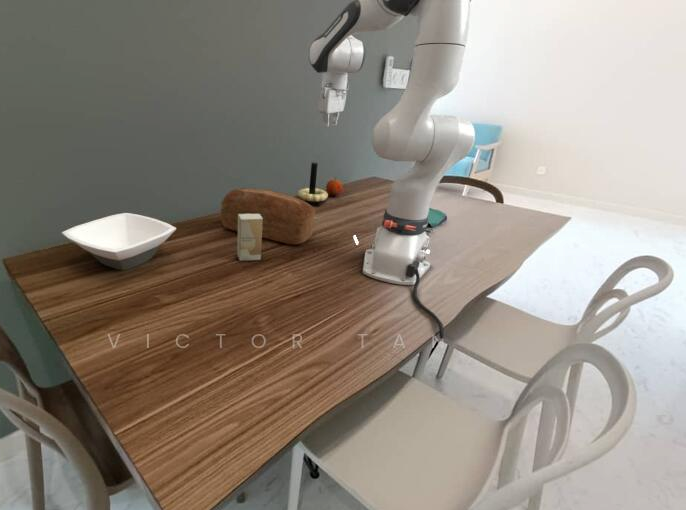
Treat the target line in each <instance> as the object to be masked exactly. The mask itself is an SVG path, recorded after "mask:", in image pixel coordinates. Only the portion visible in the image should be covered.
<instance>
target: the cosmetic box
mask: <svg viewBox="0 0 686 510" xmlns="http://www.w3.org/2000/svg"><path fill="white" fill-rule="evenodd" d="M262 223H263V218H262V216H261V215H260V214H238V231H237V245H236V246H237V247H236V249H237V253H236V255H237V258H238V260H239V262H242V261H261V260H262V242H263V238H262Z"/></svg>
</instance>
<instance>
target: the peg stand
mask: <svg viewBox="0 0 686 510" xmlns="http://www.w3.org/2000/svg"><path fill="white" fill-rule="evenodd" d="M310 165H311V166H310V178H309V187H308V188H309V194H315V188H317V187H316V185H317V174H318V162H316V161H312V162H311V163H310ZM297 198H298V197H297ZM298 199H301V198H298ZM301 200H303V199H301ZM303 201H305V202H307V203H308V204H310V205H311V206H312V207H317V208H318V207H320V206H321V205H322V204H324V202H326V199H325V200H324V201H319V202H311V201H306V200H303Z"/></svg>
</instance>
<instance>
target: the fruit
mask: <svg viewBox="0 0 686 510" xmlns="http://www.w3.org/2000/svg"><path fill="white" fill-rule="evenodd" d="M343 187H344V186H343V183H342V182H341V180H339V179H337V178H333V179H330V180H328V181H327V183H326V186H325V191H326V192H327V194H328V196H331V197H337V196H340V194H341V193H342V191H343V189H344V188H343Z"/></svg>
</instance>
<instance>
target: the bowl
mask: <svg viewBox="0 0 686 510" xmlns="http://www.w3.org/2000/svg"><path fill="white" fill-rule="evenodd" d="M176 230H177V227H175V226H173V225H172V224H170V223H168V222H165V221H162V220H159V219H157V218H153V217H149V216H147V215H141V214H138V213H137V214H135V213H130V212H122V213H117V214H112V215H108V216H104V217H102V218H97V219H94V220H91V221H88V222H85V223H81V224H78V225H74V226H73V227H71V228H67V229H66V230H64V231H61V234H62V235H63V236H64V237H66V238H67V239H68V240H69V241H71V242H72V243H74V244H76V245H77V246H79V247H80V248H81V249H83V250H84V251H86V252H88V253H89V254H90V255H91V256H92V257H94V258H95V259H96V260H97V261H98V262H100V263H101V264H102V265H104V266H106V267H109V268H112V269H115V270H120V271H126V270H130V269H132V268H135V267H138V266H140V265H142V264H144V263H146V262H148V261H149V260H151V259H152V258H154V256H155V255H156V253H157V252H158V250H159V249H160V248H161V246H162V245H163V243H165V242H166V241H167V240H168V239H169V237H171V235H172V234H173V233H174V232H175V231H176Z"/></svg>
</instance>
